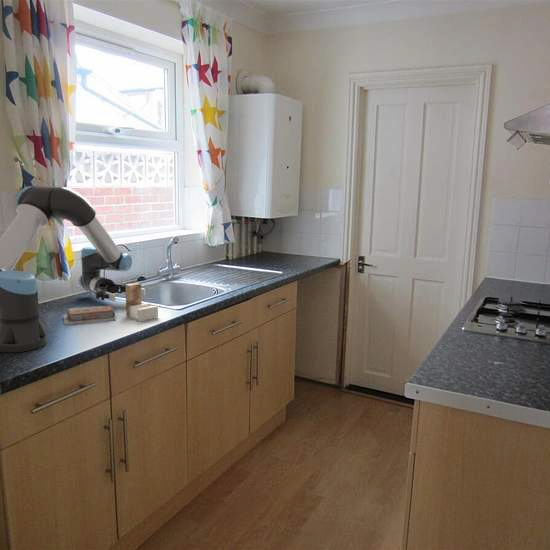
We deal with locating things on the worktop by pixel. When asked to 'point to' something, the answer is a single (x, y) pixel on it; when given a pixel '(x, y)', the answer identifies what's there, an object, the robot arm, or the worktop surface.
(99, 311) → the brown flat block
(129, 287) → the oak plank
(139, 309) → the cream stone block
